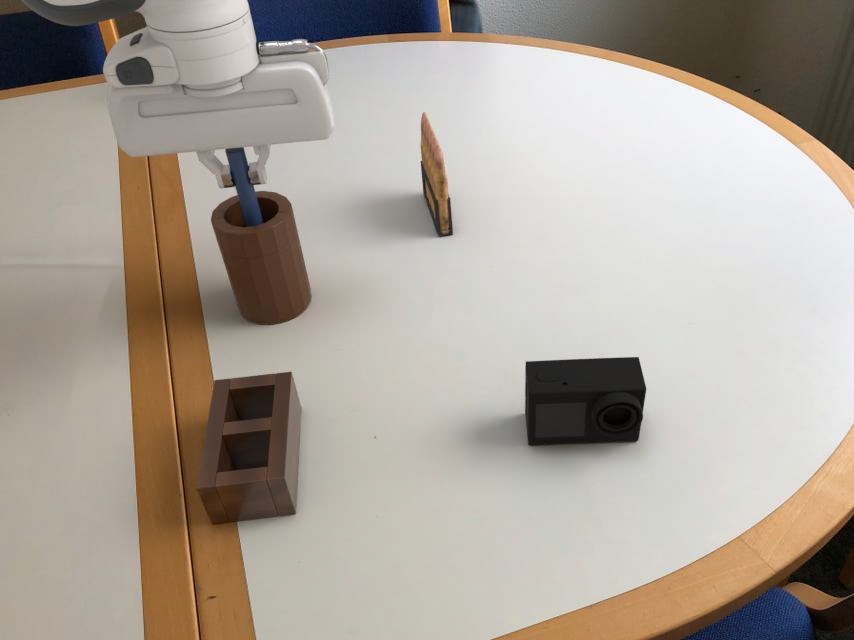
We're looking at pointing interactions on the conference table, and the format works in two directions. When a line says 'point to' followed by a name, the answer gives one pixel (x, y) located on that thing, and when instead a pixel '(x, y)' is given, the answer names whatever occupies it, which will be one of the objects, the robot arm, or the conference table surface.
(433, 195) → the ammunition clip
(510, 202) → the conference table surface
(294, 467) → the rack
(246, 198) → the brush
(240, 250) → the cup
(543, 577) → the conference table surface
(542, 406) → the digital camera
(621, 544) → the conference table surface
